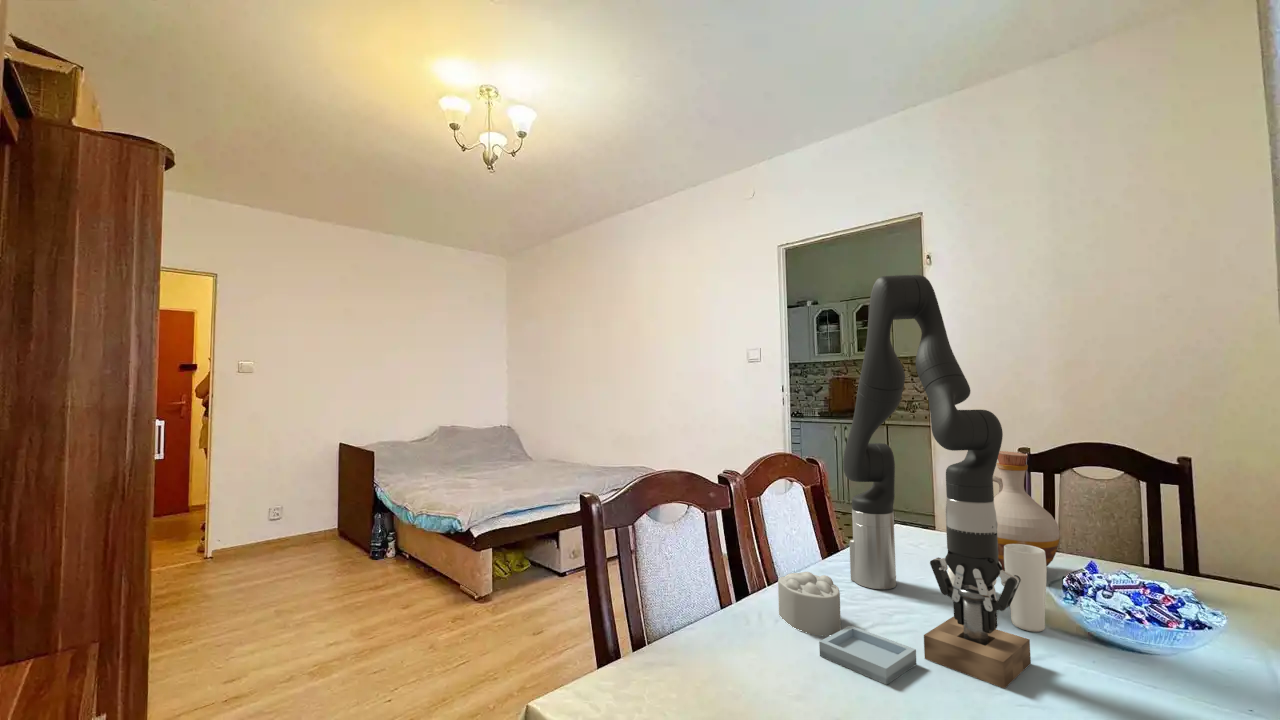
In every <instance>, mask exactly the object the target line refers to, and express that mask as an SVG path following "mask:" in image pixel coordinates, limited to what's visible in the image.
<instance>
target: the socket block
mask: <svg viewBox="0 0 1280 720" xmlns="http://www.w3.org/2000/svg"><path fill="white" fill-rule="evenodd" d="M988 638H989V643H988V644H987V645H986V646H985V645H982V644H979V643H976V642H972V641H969V640H966V639H964V629H963V625H961V624H958V622H957V620H956V619H955V617H954V615H953V616H952V617H950V618H948V619H947V620H945V621H944V622H942V623H941V624H939V625H937V626H936V627H934V628H933V629H931V630H929V631H928V632H926V633H925V634H923V651H924V652H923V653H924V660H927V661H930V662H932V663H936V664H937V665H940V666H943V667H945V668H948V669H950V670H954V671H956V672H959V673H962V674H965V675H968V676H970V677H972V678H975V679H977V680H981V681H983V682H986V683H988V684H992V685H994V686H996V687H999V688H1002V689H1006V688H1007V687H1008V686H1009V685H1010V684H1011V683H1012V682H1013V681H1014V680H1015V679H1017V678H1018V676H1020V675H1021V674H1022V673H1023V672H1024V671H1025V670H1026V669H1027V668H1028V667H1029V666H1030V665H1031V664H1032V660H1031V643H1030V642H1031V641H1030V640H1031V639H1029V638H1026V637H1024V636H1020V635H1016V634H1013V633H1010V632H1006V631H1003V630H1000V629H998V628H996V629H995V630H994V631H993V632H992V633H988Z"/></svg>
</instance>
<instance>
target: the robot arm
mask: <svg viewBox="0 0 1280 720" xmlns="http://www.w3.org/2000/svg"><path fill="white" fill-rule="evenodd" d="M868 307H869V308H868V320H867V321H868V322H867V333H866V334H867V335H866V343H865V350H864V353H863V354H864V355H863V360H862V361H863V362H862V365H861V370H860V374H859V375H860V376H859V381H858V387H857V393H856V401H855V407H854V412H853V417H852V423H851V426H850V429H849V430H850V431H849V433H848V436H847V440H846V443H845V448H844V451H843V452H844V454H843V457H842V460H843V461H842V466H843V473H844V476H845V477H846V478H847V480H849V481H851V482H856V483H872V486H871V487H869V489H867V490H865V491H864V492H861V493H859V494H856V495H854V496H853V497H852V499H851V516H852V517H851V518H852V522H851V523H852V539H850V540H849V566H850V568H849V569H850V581H852V582H855V583H856V584H857V585H859V586H862V587H864V588H865V587H866V588H870V589H876V590H889V589H890V590H891V589H894V588H895V587H897V572H896V567H897V566H896V565H897V564H896V545H895V544H896V541H895V538H896V537H895V522H894V521H895V518H894V515H895V514H894V503H895V496H896V495H895V493H896V492H895V482H896V481H895V479H896V478H895V477H896V474H895V473H896V463H895V455H894V452H893V449H892V448H891V447H890V446H889V445H888V444H887V443H881V442H877V443H876V442H873V443H872V442H870V441H871V438H872V436H873V435H874V433H875V432H876V431H877V430H878V429H879V428H880V427H881V425H883V424H884V423H885V422H886V421H887V420H888V419H889V418H890V417H891V416H892V414H894V412H895V411H896V410H897V408H899V405H900V403H901V401H902V396H903V391H904V387H905V381H906V374H905V369H904V368H903V365H902V363H901V361H900V359H899V356H898V355H897V353H896V351H895V350H894V347H893V345H892V341H891V330H892V329H891V328H892V324H893V322H894V320H897V321H899V320H915V321H916V323H917V324H918V326H919V328H920V330H921V331H920V332H921V335H920V342H919V344H918V345H919V346H918V348H917V353H916V357H915V370H916V373H917V375H918V378H919V381H920V383H921V385H922V387H923V389H924V392H925V394H926V396H927V399H928V407H929V414H930V417H929V418H930V428H931V434H932V436H933V438H934V440H935V442H937V444H938V445H939V446H941V447H942V448H943V449H945V450H948V451H954V452H955V451H957V452H958V451H967V453H966V456H965V458H964V459H963V460H962V461H959V462H957V463H952V464H950V465H948V466H947V467H946V469H945V487H946V488H945V489H946V501H945V502H946V503H945V525H946V529H945V530H946V544H947V545H946V549H947V554H946V555H945V557H943V558H942V557H936V558H934V559H931V560H930V562H929V564H930V567H931V570H932V571H933V575H934V577H935V580H936V582H937V585H938V587H939V590H940V592H941V594H942V595H944V596H947V597H949V598H950V599H951V600H952V602H953V603H952V604H953V606H952V607H953V616H954V617H955V619H956V620H957V622H958V624H961V625H963V607H962V596H960V595H959V594H958V590H959V589H962V588H964V587H966V586H967V585H972V586H974V587H976V588H978V590H979V594H980V595H982V596H983V597H985V601H983V603H984V606H985V610H983V611H984V631H985V632H986V633H992V632H993V631H994V630H995V629H998V627H999V625H998V624H999V623H998V611H1000V612H1004V611H1005V610H1006V609H1008V608H1010V605H1011V602H1012V600H1013V598H1014V595H1015V593H1016V590H1017V588H1018V586H1019V583H1020V581H1021V579H1020V577H1019V576H1017V575H1013V576H1012V575H1011V574H1009V573H1007V572H1005V571H1003V570H1002V567H1001V565H1000V563H999V560H998V538H997V528H998V523H997V518H996V510H995V506H994V496H995V495H994V481H993V476H994V474H995V469H996V467H997V464H996V463H998V455H999V452H1000V451H1001V448H1002V444H1003V443H1002V442H1003V438H1004V437H1003V436H1004V435H1003V433H1004V432H1003V428H1002V424H1001V421H1000V420H999V419H998V417H997V415H995V414H994V412H991V411H990V410H987V409H958V408H957V407H956V405H958V404H961V403H963V402H965V401H966V400H967V399H968V398H969V397H970V395H971V387H970V385H969V384H970V383H969V382H968V380H967V378H966V376H965V374H964V372H963V370H962V368H961V366H960V365H959V362H958V361H957V359H956V357H955V354H954V352H953V349H952V347H951V344H950V341H949V338H948V334H947V331H946V326H945V323H944V320H943V316H942V312H941V309H940V305H939V302H938V299H937V295H936V293H935V290H934V288H933V285H932V283H931V282H930V280H929V279H928V278H927V277H926V276H924V275H920V274H900V275H898V274H897V275H896V274H895V275H884V276H880V277H879V278H877V279H876V280H875V282H874V283H873V286H872V289H871V292H870V299H869V306H868ZM869 442H870V443H869ZM948 568H950V569H951V571H952V572H953V574H954V575H955V579H954V584H953V585H952V583H951V580H950V578H949V575H948ZM999 577H1000V580H1001V581H1000V583H1001V586H1003V589H1002V591H1001V594H1000V596H999V598H998V599H997V597H996V596H997V595H996V588H995V585H994V584H993V582H994V581H995V580H996V581H997V579H998V578H999Z"/></svg>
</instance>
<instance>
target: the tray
mask: <svg viewBox="0 0 1280 720" xmlns="http://www.w3.org/2000/svg"><path fill="white" fill-rule="evenodd" d="M818 644H819V656H820V657H821V658H823V659H826V660H828V661H830V660H831V662H833V663H835V664H837V665H839V664H840V665H839V666H842V667H844V668H846V669H848V670H851V671H853V672H856V673H858V674H860V675H863V676H865V677H867V678H870V679H871V680H875V681H877V682H879V683H881V684H884V685H886V686H887V685H889V684H890V683H892V682H894V681H896V680H897V679H898V678H899V677H901V676H902V675H904V674H905V673H906V672H908V671H909V670H911V669H912V668H914V667H915V666H916V665H917V649H916V648H914V647H911V646H908V645H905V644H902V643H900V642H898V641H894V640H893V639H889V638H887V637H884V636H881V635H878V634H875V633H872V632H870V631H867V630H865V629H861V628H859V627H856V626H853V625H848V626H846V627H845V628H843V629H842V628H841V630H840V631H838V632H837V633H835V634H833V635H831V636H826V637H825V638H823V639H821V640H819V643H818Z"/></svg>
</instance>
